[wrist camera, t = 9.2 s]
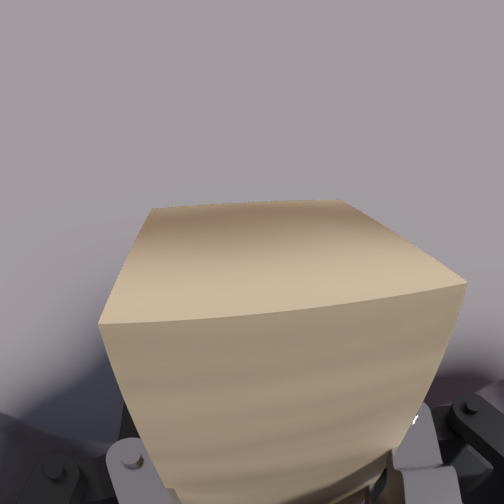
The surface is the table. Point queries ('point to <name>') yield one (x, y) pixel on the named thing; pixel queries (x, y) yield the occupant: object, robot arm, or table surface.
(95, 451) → the table surface
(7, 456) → the table surface
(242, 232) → the maple pillar
